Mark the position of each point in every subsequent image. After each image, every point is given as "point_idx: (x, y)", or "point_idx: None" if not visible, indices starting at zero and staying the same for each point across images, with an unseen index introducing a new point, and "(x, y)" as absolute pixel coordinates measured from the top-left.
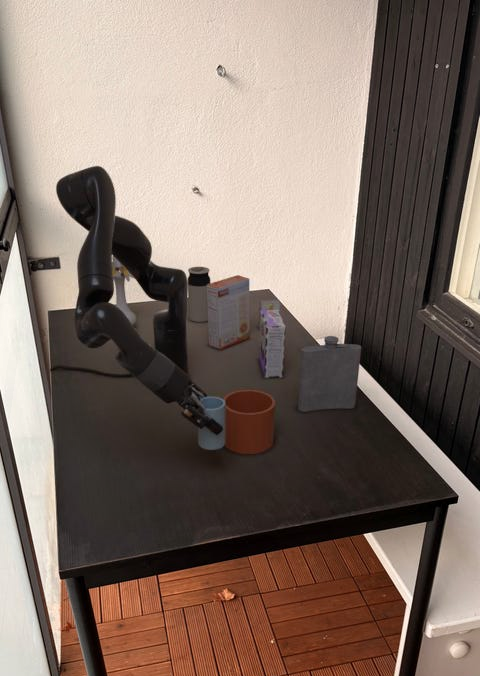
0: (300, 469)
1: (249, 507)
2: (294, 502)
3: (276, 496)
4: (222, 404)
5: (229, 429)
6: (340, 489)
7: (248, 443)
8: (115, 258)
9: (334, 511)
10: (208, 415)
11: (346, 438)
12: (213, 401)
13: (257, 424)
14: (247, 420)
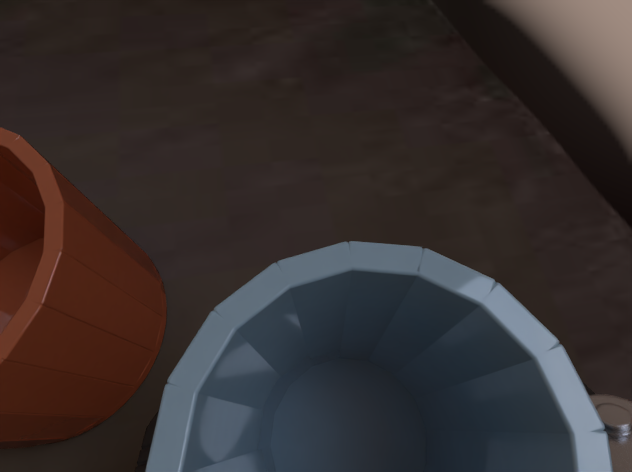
0: (251, 129)
1: (508, 251)
2: (435, 128)
3: (419, 179)
4: (292, 303)
5: (78, 385)
6: (339, 30)
7: (147, 294)
8: None
9: (445, 37)
10: (610, 440)
11: (64, 30)
12: (204, 451)
13: (94, 219)
14: (86, 256)
